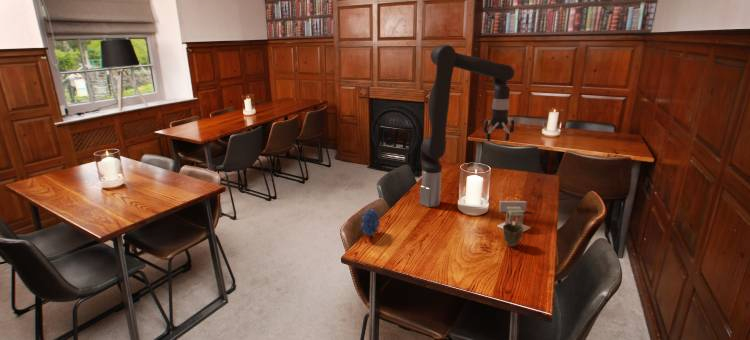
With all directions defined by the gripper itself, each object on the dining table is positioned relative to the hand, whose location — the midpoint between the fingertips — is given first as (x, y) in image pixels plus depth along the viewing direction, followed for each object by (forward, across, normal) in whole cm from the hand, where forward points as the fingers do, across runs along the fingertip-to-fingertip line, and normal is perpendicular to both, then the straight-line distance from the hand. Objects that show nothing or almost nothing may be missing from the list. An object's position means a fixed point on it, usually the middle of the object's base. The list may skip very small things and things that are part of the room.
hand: (497, 140), depth 196 cm
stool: (+29, 0, +38) cm, 48 cm away
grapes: (+30, +61, +43) cm, 81 cm away
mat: (+30, 0, +34) cm, 46 cm away
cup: (+30, +6, +51) cm, 59 cm away
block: (+30, -5, +17) cm, 35 cm away
